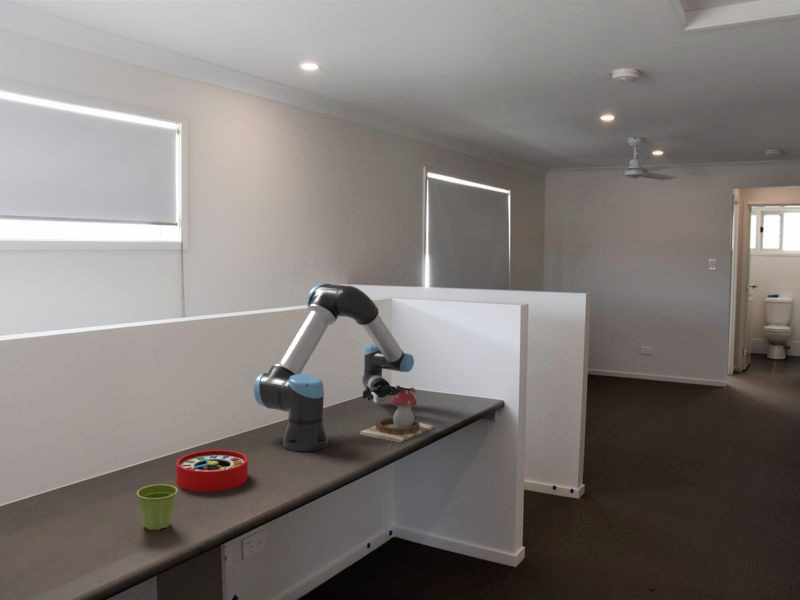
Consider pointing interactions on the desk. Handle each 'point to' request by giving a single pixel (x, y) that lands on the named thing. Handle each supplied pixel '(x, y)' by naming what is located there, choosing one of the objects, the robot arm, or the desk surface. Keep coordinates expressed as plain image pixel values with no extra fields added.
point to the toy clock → (211, 470)
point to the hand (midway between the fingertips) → (394, 398)
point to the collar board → (394, 437)
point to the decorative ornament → (404, 409)
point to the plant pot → (157, 505)
